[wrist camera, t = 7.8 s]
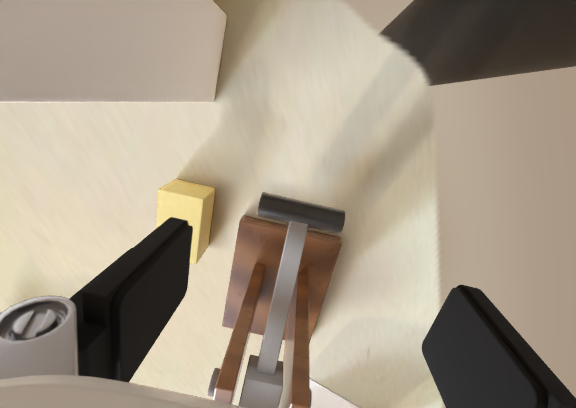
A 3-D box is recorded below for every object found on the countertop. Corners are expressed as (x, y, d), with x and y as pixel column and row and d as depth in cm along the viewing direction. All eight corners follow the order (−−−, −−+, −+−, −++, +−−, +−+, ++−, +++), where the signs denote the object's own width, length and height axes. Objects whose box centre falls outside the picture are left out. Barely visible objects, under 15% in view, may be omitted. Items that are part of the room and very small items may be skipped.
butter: (175, 178, 24) (157, 188, 21) (215, 187, 24) (203, 199, 21) (171, 238, 26) (154, 255, 23) (208, 246, 26) (196, 264, 23)
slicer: (242, 215, 25) (181, 321, 13) (340, 237, 25) (371, 363, 13) (225, 317, 29) (166, 470, 17) (308, 336, 29) (309, 501, 17)
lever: (264, 192, 18) (261, 191, 15) (340, 210, 18) (349, 211, 15) (219, 391, 18) (209, 421, 15) (295, 408, 18) (296, 440, 15)
